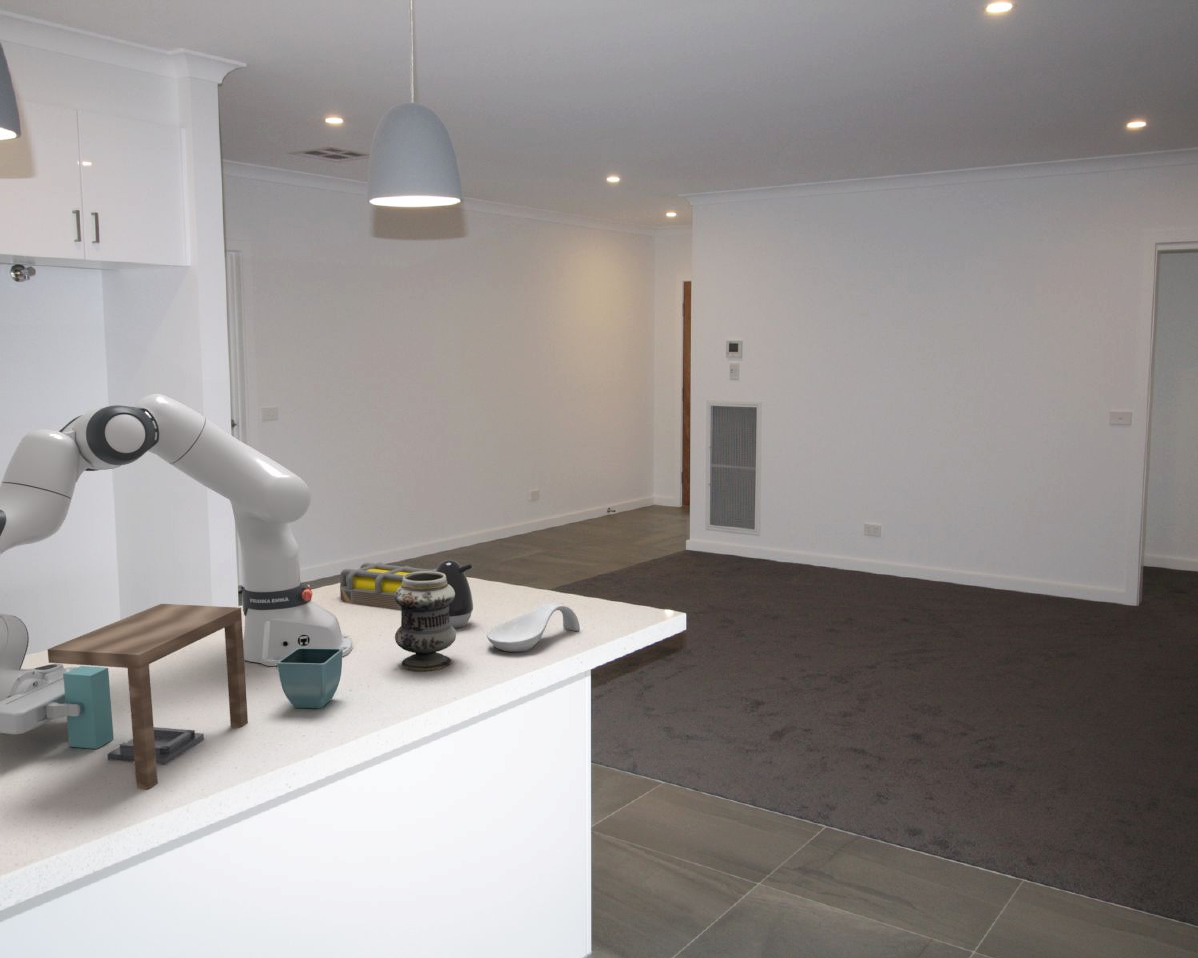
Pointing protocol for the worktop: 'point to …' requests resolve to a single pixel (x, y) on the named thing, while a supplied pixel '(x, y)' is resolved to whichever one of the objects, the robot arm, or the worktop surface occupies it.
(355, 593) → the cage light
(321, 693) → the flower pot
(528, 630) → the spoon rest
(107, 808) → the worktop surface
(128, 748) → the seat cradle
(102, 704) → the teal box
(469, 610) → the black rounded upright piece
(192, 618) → the overhang shelf
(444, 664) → the apothecary jar
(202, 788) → the worktop surface
